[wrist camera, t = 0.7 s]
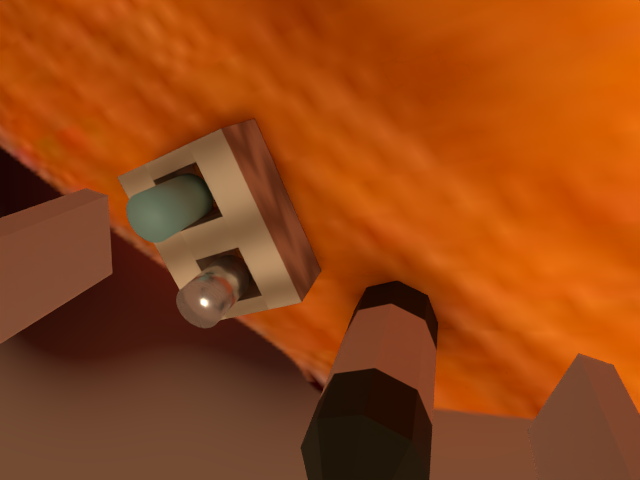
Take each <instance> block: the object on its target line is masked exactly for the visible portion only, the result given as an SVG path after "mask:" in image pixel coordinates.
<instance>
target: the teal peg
mask: <svg viewBox="0 0 640 480" xmlns="http://www.w3.org/2000/svg"><path fill="white" fill-rule="evenodd" d="M212 206H213V195H212V193H211V191H210V189H209V187H208V185H207V183H206V182H205V181H204V180H203V179H202V178H201V177H199V176H197V175H195V174H191V173H186V174H182V175H180V176H178V177H175V178H173V179H170V180H168V181H166V182H163V183H161V184H158V185H156V186H154V187H151V188H149V189H147V190H144V191H142V192H139V193H137V194H135V195H133V196H132V197H131V198H130V199H129V201H128V203H127V209H126V211H127V217H128V220H129V223H130V225H131V226H132V228H133V229H134V231H135V232H136V233H137V234H138V235H139V236H140V237H142V238H143V239H145V240H147V241H150V242H154V243H159V242H163V241H165V240H166V239H168V238H169V237H171V236H173V235H174V234H176V233H177V232H179V231H181V230H182V229H184V228H186V227H187V226H189V225H190V224H192V223H194V222H195V221H197V220H198V219H200V218H202V217H203V216H205V215H206V214H208V213H209V212H210V210H211V208H212Z"/></svg>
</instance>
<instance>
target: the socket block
mask: <svg viewBox="0 0 640 480" xmlns="http://www.w3.org/2000/svg"><path fill="white" fill-rule="evenodd" d="M196 163H197V165H198V167H199V169H200V171H201V173H202V175H203V177H204V179H205V181H206V183H207V185H208V187H209V189H210V191H211V193H212V195H213V197H214V199H215V201H216V203H217V205H218V207H219V209H216V210H215V209H214V207H213V206H212V208H211V210H210V212H209V213H208V214H206V215H205V216H203V217H202V218H200V219H198V220H197V221H195V222H194V223H192V224H190V225H189V226H187V227H186V228H184V229H182V230H181V231H179V232H177V233H176V234H174V235H173V236H171V237H169V238H168V239H166V240H165V241H163V242H159V243H154V244H155V246H156V248H157V250H158V251H159V253H160V255H161V257H162V259H163V260H164V262H165V264H166V266H167V267H168V269H169V271H170V273H171V275H172V276H173V278H174V280H175V282H176V284H177V285H178V287H179V289H182V288H183V287H184V286H185V285H186V284H188V283H189V282H190V281H191V280H192V279H194V278H195V277H196V276H197V275H198V274H200V273H201V272H202V271H203V270H204V269H206V268H207V267H208V266H209V265H210V264H211V263H213V262H214V261H215V260H216V259H217V258H219V257H220V256H222V255H227V254H229V255H234V256H237V254H236V252H235V250H234V248H239V250H240V252H241V254H242V256H243V258H244V260H245V262H246V264H247V266H248V268H249V270H250V272H251V274H252V283H251V285H250V287H249V288H248V289H247V290H246V291H245V293H244V294H243V295H242V296H241V297H240V298H239V299H238V300H237V301H236V303H235V304H234V305H233V306H232V307H231V308H230V309H229V310H228V311H227V313H226V314H225V315H224V316H223V317H222V318H221V319H220V320H222V319H227V318H231V317H236V316H241V315H245V314H250V313H255V312H259V311H264V310H268V309H273V308H278V307H282V306H287V305H292V304H296V303H301V302H302V301H303V299H304V298H305V296H306V294H307V293H308V291H309V290H310V288H311V286H312V285H313V283H314V282H315V280H316V278H317V277H318V275H319V274H320V272H321V270H320V267H319V265H318V263H317V260H316V258H315V256H314V253H313V251H312V249H311V247H310V244H309V242H308V240H307V237H306V235H305V233H304V231H303V228H302V226H301V224H300V221H299V219H298V217H297V215H296V212H295V210H294V208H293V205H292V203H291V201H290V199H289V196H288V194H287V192H286V189H285V187H284V185H283V183H282V180H281V178H280V176H279V173H278V171H277V169H276V167H275V164H274V162H273V160H272V157H271V155H270V153H269V150H268V148H267V146H266V144H265V141H264V139H263V137H262V134H261V132H260V130H259V128H258V125H257V123H256V121H255V119H252V120H249V121H245V122H242V123H238V124H235V125H232V126H228V127H225V128H221V129H219V130H217V131H215V132H213V133H210V134H208V135H206V136H204V137H202V138H200V139H198V140H196V141H193V142H191V143H189V144H187V145H185V146H183V147H181V148H178V149H176V150H174V151H172V152H170V153H168V154H166V155H164V156H161V157H159V158H157V159H155V160H153V161H151V162H149V163H146V164H144V165H142V166H140V167H138V168H136V169H134V170H132V171H129V172H127V173H125V174H123V175H121V176H119V177H117V178H118V180H119V181H120V183H121V185H122V187H123V189H124V190H125V192H126V194H127V196H128V198H129V199H130V198H131V197H132V196H133V195H135V194H137V193H139V192H142V191H144V190H147V189H149V188H151V187H154V186H156V185H158V184H161V183H163V182H166V181H168V180H170V179H173V178H175V177H178V176H180V175H182V174H186V173H191V174H195V175H197V173H196V171H195V169H194V167H193V164H196ZM197 176H198V175H197ZM237 257H238V256H237Z"/></svg>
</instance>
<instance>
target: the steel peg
mask: <svg viewBox="0 0 640 480" xmlns="http://www.w3.org/2000/svg"><path fill="white" fill-rule="evenodd" d="M251 283H252V274H251V272H250V270H249V268H248V266H247V264H246V263H245V262H244V261H243V260H242V259H240V258H239V257H237V256H234V255H229V254H227V255H222V256H220V257H219V258H217V259H216V260H215V261H214V262H213V263H211V264H210V265H209V266H208V267H207V268H206V269H204V270H203V271H202V272H201V273H200V274H198V275H197V276H196V277H195V278H194V279H192V280H191V281H190V282H189V283H188V284H186V285H185V286H184V287H183V288H182V289H180V291H179V292H178V294H177V298H176V299H177V300H176V301H177V306H178V309H179V311H180V313H181V314H182V315H183V317H184V318H185V319H186V320H187V321H188V322H190V323H192V324H193V325H195V326H197V327H201V328H210V327H212V326H214V325H215V324H217V322H218V321H219V320H220V319H221V318H222V317H223V316H224V315H225V314H226V313H227V311H228V310H229V309H230V308H231V307H232V306H233V305H234V304H235V303H236V301H237V300H238V299H239V298H240V297H241V296H242V295H243V294H244V293H245V291H246V290H247V289H248V288H249V287H250V285H251Z"/></svg>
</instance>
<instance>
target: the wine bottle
mask: <svg viewBox="0 0 640 480" xmlns="http://www.w3.org/2000/svg"><path fill="white" fill-rule="evenodd" d="M437 331H438V322H437V319H436V317H435V314H434V311H433V309H432V306H431V303H430V301H429V298H428V295H426V294H424V293H421V292H419V291H417V290H415V289H413V288H411V287H409V286H407V285H405V284H403V283H401V282H399V281H393V282H389V283H384V284H380V285H376V286H371V287H367V288H366V290H365V292H364V294H363V295H362V297H361V299H360V301H359V303H358V305H357V307H356V309H355V310H354V313H353V316H352V318H351V321H350V323H349V326H348V328H347V331H346V333H345V336H344V338H343V341H342V343H341V346H340V349H339V351H338V354H337V356H336V359H335V361H334V364H333V366H332V369H331V371H330V374H329V377H328V379H327V382H326V384H325V387H324V389H323V392H322V394H321V397H320V400H319V402H318V405H317V407H316V410H315V412H314V415H313V417H312V420H311V422H310V425H309V428H308V430H307V432H306V435H305V438H304V440H303V443H302V445H301V450H302V455H303V460H304V464H305V469H306V473H307V477H308V480H429V474H430V457H431V456H430V455H431V439H432V421H433V403H434V385H435V367H436V349H437Z"/></svg>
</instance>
